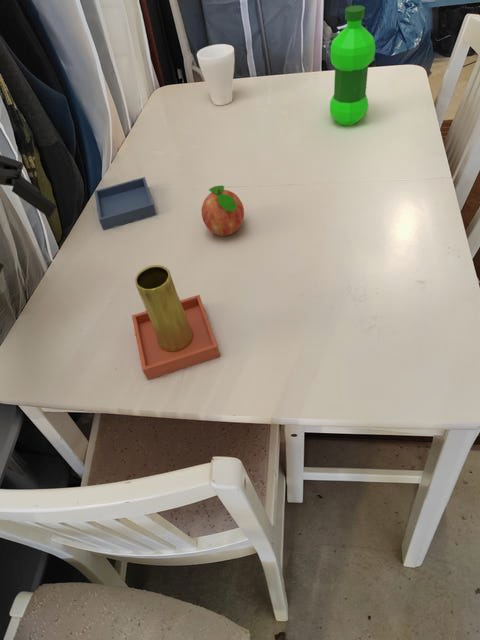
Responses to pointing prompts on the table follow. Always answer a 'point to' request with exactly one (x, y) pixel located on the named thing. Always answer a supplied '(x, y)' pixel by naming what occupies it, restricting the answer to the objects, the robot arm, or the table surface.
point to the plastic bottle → (351, 68)
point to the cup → (218, 71)
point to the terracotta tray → (169, 361)
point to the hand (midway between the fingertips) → (28, 240)
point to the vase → (164, 308)
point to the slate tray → (124, 203)
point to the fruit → (222, 211)
